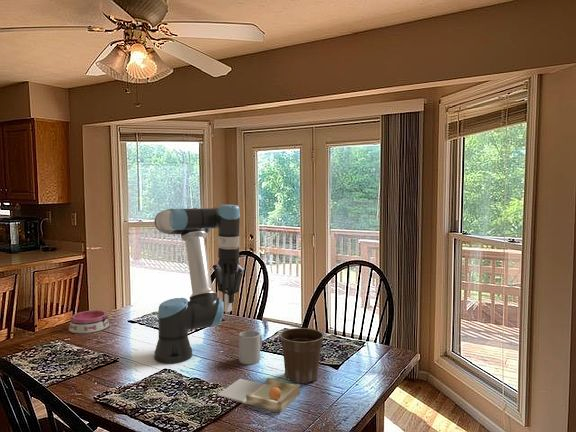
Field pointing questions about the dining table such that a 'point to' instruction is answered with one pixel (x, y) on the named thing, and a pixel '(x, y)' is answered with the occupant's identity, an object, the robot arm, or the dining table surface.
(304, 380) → the plant pot
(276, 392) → the ball
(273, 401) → the fence
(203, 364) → the dining table surface
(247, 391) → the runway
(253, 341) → the mug
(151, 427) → the dining table surface
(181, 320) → the robot arm
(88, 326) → the dog bowl
